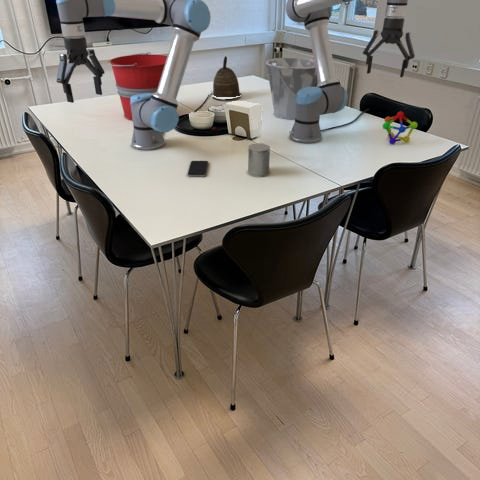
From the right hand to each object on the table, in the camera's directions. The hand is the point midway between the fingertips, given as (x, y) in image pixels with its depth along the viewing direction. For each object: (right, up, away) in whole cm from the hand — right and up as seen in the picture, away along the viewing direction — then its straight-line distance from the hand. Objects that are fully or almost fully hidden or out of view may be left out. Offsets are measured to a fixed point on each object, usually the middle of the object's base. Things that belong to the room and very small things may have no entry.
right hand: (384, 74), depth 182 cm
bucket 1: (-112, +2, +66) cm, 130 cm away
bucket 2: (-31, +3, +68) cm, 75 cm away
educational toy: (+14, -22, +28) cm, 39 cm away
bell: (-68, +23, +99) cm, 123 cm away
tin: (-52, -41, -2) cm, 66 cm away
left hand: (-118, -14, -15) cm, 120 cm away
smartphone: (-77, -39, 0) cm, 86 cm away
